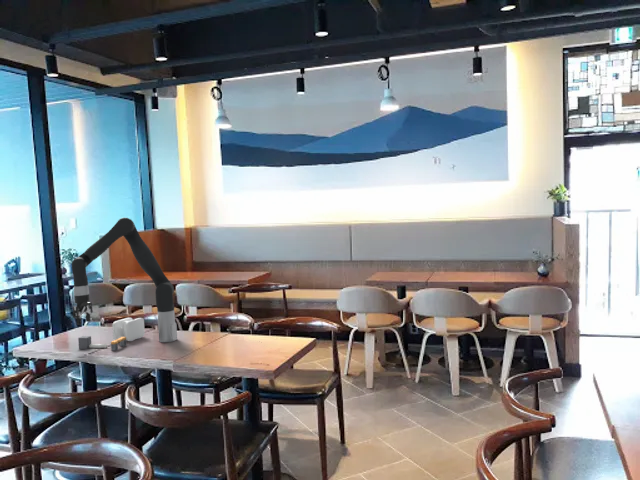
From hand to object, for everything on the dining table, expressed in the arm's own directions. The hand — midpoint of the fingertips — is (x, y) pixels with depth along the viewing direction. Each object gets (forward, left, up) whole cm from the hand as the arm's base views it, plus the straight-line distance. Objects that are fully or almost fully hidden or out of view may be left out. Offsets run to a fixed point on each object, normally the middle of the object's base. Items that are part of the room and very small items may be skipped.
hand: (83, 323), depth 287 cm
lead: (-5, 0, -14) cm, 15 cm away
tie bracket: (-20, 0, -14) cm, 24 cm away
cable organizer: (-15, -19, -14) cm, 28 cm away
